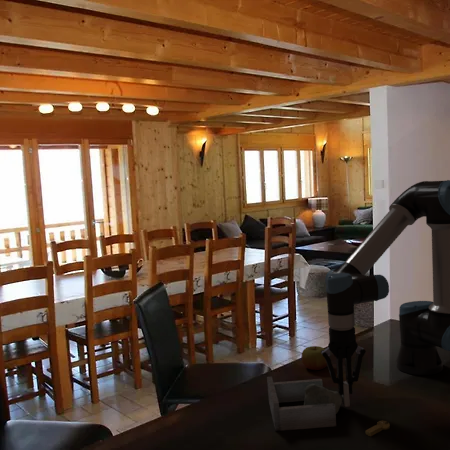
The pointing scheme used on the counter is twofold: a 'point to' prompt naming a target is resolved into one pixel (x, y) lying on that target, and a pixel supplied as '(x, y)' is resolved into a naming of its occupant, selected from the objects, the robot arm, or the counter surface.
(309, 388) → the decorative stone
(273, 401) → the gray open-sided box
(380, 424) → the wooden spoon
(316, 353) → the apple
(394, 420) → the counter surface
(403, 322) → the robot arm
